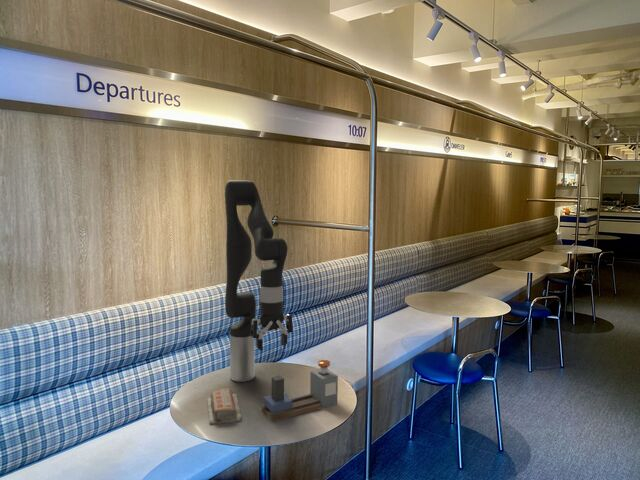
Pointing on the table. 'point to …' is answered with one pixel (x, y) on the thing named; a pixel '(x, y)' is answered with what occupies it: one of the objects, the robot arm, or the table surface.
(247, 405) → the table surface
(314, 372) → the end cabinet
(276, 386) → the carriage
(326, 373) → the orange push button
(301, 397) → the rail bed
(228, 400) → the packaged product
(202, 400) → the table surface
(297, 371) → the table surface
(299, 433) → the table surface
